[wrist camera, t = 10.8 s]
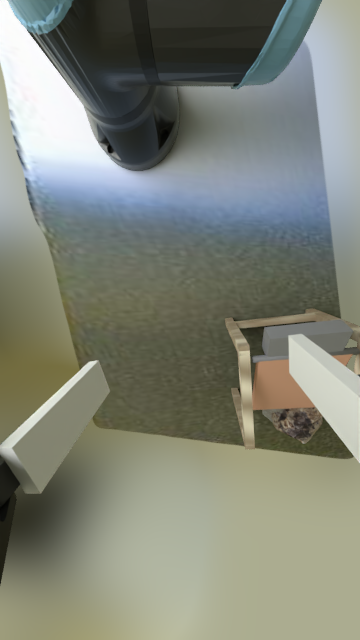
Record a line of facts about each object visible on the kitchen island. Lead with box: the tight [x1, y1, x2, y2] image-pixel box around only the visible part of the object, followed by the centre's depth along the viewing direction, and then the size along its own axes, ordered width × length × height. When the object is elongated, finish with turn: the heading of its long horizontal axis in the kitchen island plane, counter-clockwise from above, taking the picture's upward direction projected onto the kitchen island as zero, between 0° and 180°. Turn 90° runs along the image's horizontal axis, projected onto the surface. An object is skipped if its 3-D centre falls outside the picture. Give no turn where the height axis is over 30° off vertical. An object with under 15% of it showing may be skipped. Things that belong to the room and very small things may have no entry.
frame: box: [225, 308, 360, 449], centre depth 35 cm, size 20×18×15 cm
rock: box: [262, 407, 323, 444], centre depth 40 cm, size 9×12×10 cm
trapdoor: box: [251, 319, 360, 410], centre depth 31 cm, size 19×14×3 cm
